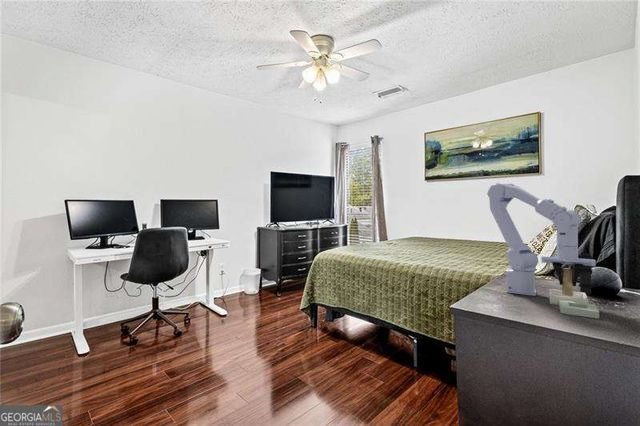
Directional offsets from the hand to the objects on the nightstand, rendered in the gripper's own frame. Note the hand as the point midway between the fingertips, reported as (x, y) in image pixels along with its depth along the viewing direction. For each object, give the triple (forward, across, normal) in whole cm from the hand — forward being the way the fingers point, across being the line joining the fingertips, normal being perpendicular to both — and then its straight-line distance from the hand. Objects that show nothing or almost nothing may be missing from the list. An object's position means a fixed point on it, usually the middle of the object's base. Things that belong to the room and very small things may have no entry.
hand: (567, 285), depth 106 cm
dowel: (+3, 0, 0) cm, 3 cm away
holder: (+6, +2, -10) cm, 12 cm away
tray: (+6, 0, 0) cm, 6 cm away
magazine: (+6, +7, +23) cm, 25 cm away
